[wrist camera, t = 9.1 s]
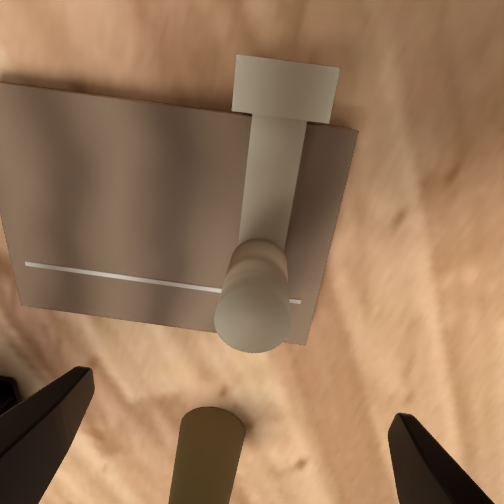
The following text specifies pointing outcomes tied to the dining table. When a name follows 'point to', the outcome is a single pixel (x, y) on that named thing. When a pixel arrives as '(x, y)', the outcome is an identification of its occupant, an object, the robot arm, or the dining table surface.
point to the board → (149, 205)
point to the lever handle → (269, 194)
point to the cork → (206, 457)
